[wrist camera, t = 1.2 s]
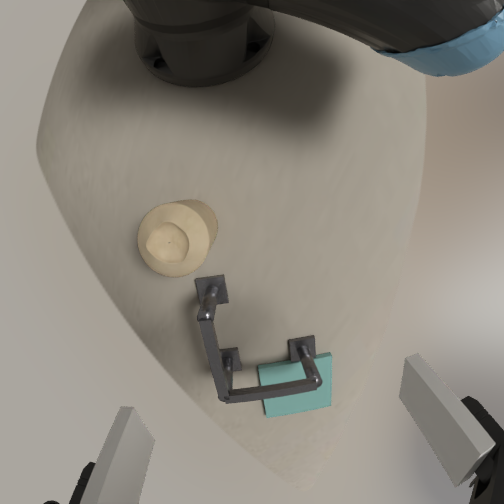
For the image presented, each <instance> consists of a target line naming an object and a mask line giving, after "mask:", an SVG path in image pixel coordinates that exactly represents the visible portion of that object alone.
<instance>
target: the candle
mask: <svg viewBox="0 0 504 504" xmlns="http://www.w3.org/2000/svg"><path fill="white" fill-rule="evenodd" d="M217 231H218V223H217V219H216V216H215V214H214V212H213V211H212V209H211V208H210V207H209V206H208V205H206V204H205V203H203V202H201V201H198V200H183V201H177V202H171V203H166V204H162V205H159V206H157V207H155V208H153V209H152V210H151V211H150V212H149V213H147V215H146V216H145V217H144V218H143V220H142V222H141V224H140V227H139V230H138V238H137V241H138V248H139V251H140V254H141V256H142V258H143V260H144V261H145V263H146V264H147V265H148V266H149V267H150V268H151V269H152V270H154V271H155V272H157V273H159V274H161V275H164V276H168V277H182V276H186V275H188V274H190V273H192V272H194V271H195V270H196V269H198V268H199V267H200V266H201V265H202V263H203V262H204V260H205V258H206V256H207V254H208V252H209V250H210V248H211V246H212V244H213V242H214V240H215V238H216V235H217Z"/></svg>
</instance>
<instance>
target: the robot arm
mask: <svg viewBox="0 0 504 504" xmlns="http://www.w3.org/2000/svg"><path fill="white" fill-rule="evenodd" d="M123 1H124V2H125V4H126V5H127V6H128V8H129V9H130V11H131V12H132V14H133V15H134V26H135V46H136V50H137V52H138V55H139V57H140V58H141V60H142V61H143V63H144V64H145V65H146V66H147V68H148V69H149V70H150V71H151V72H152V73H153V74H154V75H156V76H157V77H159V78H160V79H162V80H164V81H166V82H169V83H172V84H176V85H180V86H188V87H203V86H212V85H217V84H221V83H224V82H227V81H230V80H233V79H235V78H237V77H239V76H241V75H243V74H245V73H247V72H248V71H249V70H251V69H252V68H254V67H255V66H256V65H257V64H258V63H259V62H260V61H261V60H262V59H263V58H264V56H265V55H266V53H267V52H268V50H269V48H270V45H271V42H272V38H273V34H274V28H275V22H274V15H273V12H272V10H273V11H277V12H281V13H285V14H288V15H292V16H295V17H298V18H301V19H304V20H307V21H310V22H313V23H316V24H319V25H322V26H325V27H327V28H330V29H332V30H335V31H337V32H340V33H342V34H345V35H347V36H349V37H351V38H353V39H356V40H358V41H360V42H362V43H364V44H366V45H368V46H370V47H371V49H373V50H374V51H376V52H377V53H380V54H381V55H384V56H387V57H392V58H394V59H396V60H398V61H400V62H402V63H404V64H406V65H408V66H410V67H411V68H413V69H415V70H417V71H419V72H421V73H424V74H427V75H431V76H437V77H438V76H445V75H447V76H458V75H463V74H467V73H470V72H472V71H475V70H477V69H479V68H481V67H483V66H485V65H487V64H488V63H490V62H491V61H493V60H494V59H495V58H497V57H498V56H499V55H500V54H501V53H502V52H503V51H504V0H123ZM399 398H400V399H401V401H402V402H403V404H404V405H405V407H406V408H407V410H408V412H409V413H410V414H411V416H412V418H413V419H414V421H415V422H416V424H417V426H418V427H419V429H420V430H421V432H422V433H423V435H424V436H425V438H426V440H427V441H428V443H429V445H430V446H431V448H432V449H433V451H434V453H435V454H436V456H437V458H438V459H439V461H440V462H441V464H442V466H443V467H444V469H445V471H446V472H447V474H448V476H449V477H450V479H451V481H452V483H453V484H454V486H455V487H457V486H459V485H460V484H462V483H463V482H465V481H466V480H468V479H469V478H470V477H471V476H472V474H474V472H475V473H476V475H477V476H476V478H475V479H474V480H473V481H472V482H471V483H470V486H469V487H472V485H473V484H474V488H473V491H472V495H471V499H470V503H469V504H504V430H503V429H502V428H501V427H500V426H499V424H498V423H497V422H496V421H495V420H494V419H493V418H492V416H491V415H489V414H488V412H487V411H486V410H485V409H484V407H483V406H482V405H481V404H480V403H479V402H478V401H477V400H475V399H474V398H472V397H470V396H467V397H465V398H464V399H462V400H459V398H458V397H457V396H456V395H455V394H454V393H453V391H452V390H451V389H450V388H449V387H448V386H447V384H446V383H445V382H444V381H443V380H442V379H441V378H440V377H439V375H438V374H437V373H436V372H435V371H434V370H433V369H432V368H431V367H430V365H429V364H428V363H427V362H426V361H425V360H424V359H423V358H422V357H421V356H420V355H419V353H417V354H414V355H412V356H409V357H406V358H405V364H404V370H403V376H402V383H401V388H400V394H399ZM154 442H155V439H154V438H153V436H152V435H151V433H150V432H149V431H148V429H147V427H146V426H145V424H144V423H143V421H142V420H141V418H140V416H139V415H138V413H137V412H136V410H135V408H134V407H121V408H120V410H119V412H118V414H117V416H116V418H115V421H114V423H113V425H112V427H111V429H110V432H109V434H108V436H107V438H106V441H105V443H104V446H103V448H102V450H101V453H100V455H99V457H98V459H97V462H96V463H93V462H90V463H89V464H88V465H87V466H86V467H85V468H84V469H83V471H82V473H81V476H80V479H79V480H78V483H77V484H78V485H77V486H76V488H75V490H74V492H73V495H72V498H71V500H70V502H69V504H138V503H139V499H140V495H141V491H142V487H143V484H144V480H145V476H146V472H147V468H148V464H149V461H150V457H151V453H152V449H153V446H154ZM44 504H59V503H58V502H56V501H47V502H45V503H44Z"/></svg>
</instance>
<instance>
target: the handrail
mask: <svg viewBox="0 0 504 504" xmlns="http://www.w3.org/2000/svg"><path fill="white" fill-rule="evenodd" d="M195 281H196V285H197V290H198V295H199V300H200V304H201V306H200V309H199V312H198V315H197V320H198V322H199V324H200V328H201V332H202V336H203V340H204V344H205V348H206V352H207V356H208V360H209V364H210V367H211V371H212V375H213V378H214V382H215V385H216V389H217V392H218V398H219V400H220V401H223V402H226V404H228V403H238V402H247V401H255V400H263V399H270V398H276V397H283V396H288V395H294V394H299V393H305V392H310V391H314V390H317V388H318V387H320V386H321V385H322V383H323V381H322V378H321V376H320V374H319V371H318V369H317V367H316V364H315V362H314V360H313V359H314V358H316V351H315V337H314V335H312V336H307V337H301V338H296V339H290V340H289V348H290V359H291V363H293V362H299V361H301V364H302V367H303V370H304V372H305V375H306V379H301V380H295V381H290V382H284V383H278V384H271V385H265V386H258V387H250V388H242V389H232V383H233V371H240V370H242V367H241V362H240V357H239V352H238V347H236V348H228V349H219V345H218V341H217V337H216V332H215V328H214V323H213V320H214V315H215V310H216V305H217V304H224V303H229V300H228V294H227V288H226V283H225V277H224V275H217V276H210V277H203V278H196V280H195Z"/></svg>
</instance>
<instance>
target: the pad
mask: <svg viewBox="0 0 504 504" xmlns="http://www.w3.org/2000/svg"><path fill="white" fill-rule="evenodd" d="M313 360H314V362H315V364H316V367H317V369H318V371H319V374H320V376H321V378H322V381H323V383H322V385H321V386H320V387H318V388H317V390H314V391H310V392H305V393H299V394H294V395H288V396H283V397H276V398H270V399H264V405H265V411H266V417H267V418H270V417H276V416H283V415H288V414H294V413H299V412H305V411H310V410H314V409H319V408H323V407H328V406H331V390H332V355H331V353H330V352H329V353H324V354H320V355H316V358H314V359H313ZM258 370H259V376H260V382H261V386H265V385H271V384H278V383H284V382H290V381H295V380H301V379H306V375H305V372H304V370H303V367H302V364H301V361H299V362H293V363H291V360H288V361H282V362H276V363H270V364H263V365H258Z"/></svg>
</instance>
